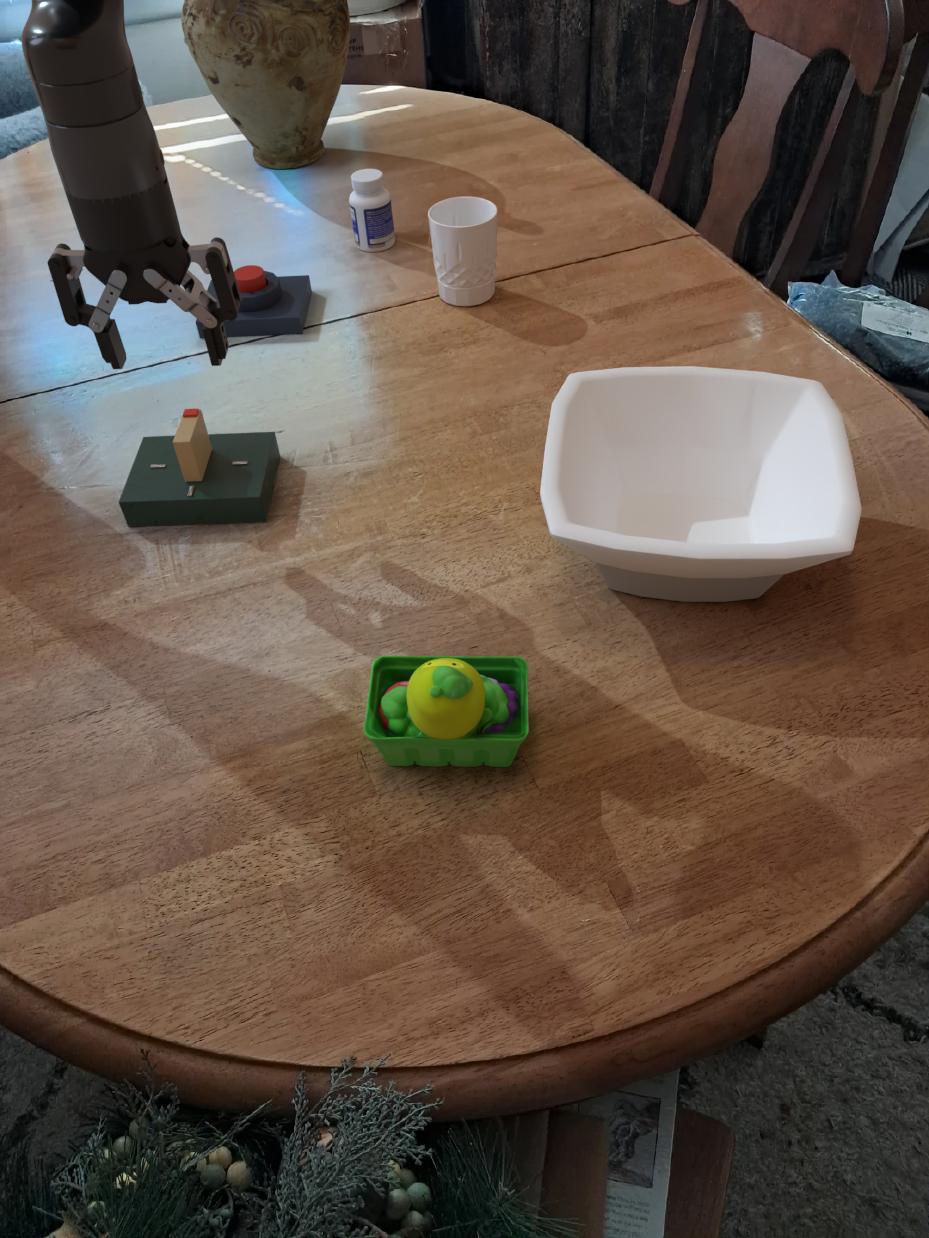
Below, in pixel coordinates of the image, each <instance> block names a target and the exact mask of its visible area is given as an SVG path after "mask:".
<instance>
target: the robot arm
mask: <svg viewBox="0 0 929 1238" xmlns="http://www.w3.org/2000/svg"><path fill="white" fill-rule="evenodd" d="M20 39H21V48H22V53H23V57H24V58H23V59H24V62H25V65H26V68H27V71H28V74H29V77H30V80H31V82H32V86H33V89H34V92H35V95H36V98H37V101H38V104H39V107H40V110H41V113H42V116H43V119H44V123H45V126H46V131H47V137H48V142H49V147H50V151H51V155H52V157H53V160H54V163H55V166H56V170H57V172H58V175H59V178H60V182H61V184H62V187H63V191H64V193H65V196H66V200H67V202H68V205H69V208H70V211H71V214H72V217H73V220H74V224H75V226H76V229H77V232H78V235H79V238H80V240H81V242H82V244H83V248H84V249H71V247H70V246H69V245H68V244H66V243H63V242H62V243H58V244H57V245H56V247H55V248H54V250H53V252H52V253H51V255H50V257H49V258H48V260H47V267H48V270H49V273H50V277H51V279H52V283H53V287H54V289H55V293H56V296H57V299H58V304H59V307H60V310H61V313H62V316H63V319H64V321H65V323H66V324H67V325H68V326H71V327H78V326H79V325H80V326H84V327H87V328H89V329H90V331H92V333H93V335H94V337H95V341H96V343H97V347H98V349H99V351H100V355H101V358H102V359H103V360H104V361H105V364H110V366H111V368H112V370H123V368H124V366H125V363H126V361H127V352H126V349H125V346H124V343H123V340H122V336H121V334H120V331H119V328H118V325H117V321H116V318H111V314H112V313H113V311H114V308H115V306H116V304H117V302H118V300H119V299H120V300H122V301H124V302H127V303H128V304H127V305H129V306H130V305H131V306H132V305H141V304H144V303H153V304H167V303H168V301H171V302H173V304H175V305H176V306H177V307H178V308H179V309H180V310H182V311H183V312H184V313H190V314H191V315H192V316H193V317H194V318H195V319H198V320H199V321H200V322H201V323H202V324H203V328H202V331H203V335H204V338H203V339H204V342H205V346H206V349H207V353H208V357H209V362H210V364H211V367H219V366H222V363H223V360H226V358H227V354H228V351H229V346H230V343H229V339H228V337H227V335H226V331H225V327H224V323H223V321H226V320H230V321H233V320H235V319H236V318H237V315H238V310H239V307H240V305H241V302H242V299H241V295H240V292H239V288H238V285H237V281H236V278H235V274H234V271H235V270H234V268H233V264H232V261H231V257H230V254H229V251H228V247H227V243H226V242H225V240H224V239H223V238H221V237H217V236H215V237H213V238H212V239H211V240H210V243H204V244H194V245H190V244H189V242H188V241H187V240H186V239H185V238H184V235H183V233H182V229H181V226H180V225H181V224H180V221H179V217H178V213H177V209H176V206H175V202H174V197H173V194H172V191H171V187H170V182H169V179H168V175H167V171H166V167H165V164H166V163H165V157H164V153H163V150H162V149H161V147H160V144H159V140H158V137H157V134H156V130H155V127H154V125H153V122H152V120H151V118H150V114H149V113H148V110H147V107H146V103H145V100H144V96H143V93H142V88H141V84H140V81H139V77H138V73H137V69H136V65H135V61H134V58H133V54H132V52H131V48H130V45H129V42H128V39H127V34H126V24H125V1H124V0H31V7H30V12H29V15H28V18H27V19H26V22H25V24H24V27H23V29H22V33H21V38H20ZM191 263H195V264H197V265H198V266H199V267H200V269H201V270H202V272H203V274H205V275H210V279H211V280H212V282H213V285H214V288H215V292H216V295H217V298H218V301H217V300H216V299H215V298H214V297H213V296H212V295H211V294H210V293H208V292H207V289H205V286H204V285H203V283H202V281H201V280H200V279H199V278H198V277H196V275H195V274H193V273H192V272H191V271H190V270H189V269H190V266H191ZM84 267H85V269H86V270H87V271H88V272H89V273H90V274H91V275H92V276H93V277H95V278H96V279H97V280H98V281H99V282H100V283H101V284H103V285H104V288H103V291H102V293H101V295H100V298H99V300H98V302H97V305H93V304H89V303H87V300H86V297H85V294H84V289H83V286H82V283H81V279H80V277H81V274H82V273H83V270H84V269H83V268H84ZM181 286H182V287H181Z"/></svg>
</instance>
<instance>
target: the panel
mask: <svg viewBox="0 0 929 1238" xmlns="http://www.w3.org/2000/svg"><path fill="white" fill-rule="evenodd" d="M208 435H209V439H210V442H211V446H212V451H211V454H210V457H209V461H208V464H207V467H206V470H205V473H204V476H203V479H202V481H194V482H185V479H184V476H183V473H182V470H181V467H180V464H179V461H178V457H177V454H176V451H175V448H174V445H173V440H174V437H175V435H154V436H153V435H152V436H143V437H142V440H141V442H140V444H139V448H138V449H137V453H136V455H135V458H134V461H133V463H132V465H131V467H130V471H129V473H128V477H127V479H126V482H125V484H124V486H123V490H122V492H121V495H120V497H119V500H118V504H119V507H120V509H121V513H122V515H123V517H124V520H125V522H126V525H127V527H129V528H130V527H133V528H134V527H161V526H162V527H163V526H187V525H188V526H190V525H215V524H217V525H219V524H245V523H266V522H267V520H268V515H269V511H270V507H271V501H272V496H273V493H274V492H273V491H274V486H275V482H276V478H277V473H278V469H279V464H280V459H281V454H280V448H279V444H278V439H277V435H276V431H259V432H257V431H256V432H255V431H254V432H231V433H208Z"/></svg>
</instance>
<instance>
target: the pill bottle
mask: <svg viewBox="0 0 929 1238" xmlns="http://www.w3.org/2000/svg"><path fill="white" fill-rule="evenodd" d="M350 181H351V187H352V190H353V191H352V192H351V193H350V194H349V197H348V199H349V200H348V202H349V203H348V204H349V210H350V211H349V212H350V217H351V218H350V219H351V224H352V232H353V238H354V244H355V247H356V248H357V249H358V250H360V251H362V252H366V253H378V252H383V251H386V250H388V249H390V248H392V247H393V246H394V245H395V242H396V233H395V224H394V216H393V207H392V206H393V205H392V199H391V194H390V192H389V190H388V189H387V188H385V187H384V186H385V181H384V174H383V172H382V171H381V170H379V169H376V168H363V169H359V170H356V171H353V173H352V174H351V175H350Z"/></svg>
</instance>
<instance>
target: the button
mask: <svg viewBox="0 0 929 1238" xmlns="http://www.w3.org/2000/svg"><path fill="white" fill-rule="evenodd" d="M233 271H234V274H235V278H236V281H237V285H238V288H239V292H242V293H250V292H255V291H259V290H262V289H263V288H264V287H266V285H267V284H266V279H265V274H264V271H265V270H264V268H263V267H261V266H260V265H257V264H256V265H255V264H248V265H243V266H240V267H237V268H236V269H235V270H233Z"/></svg>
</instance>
